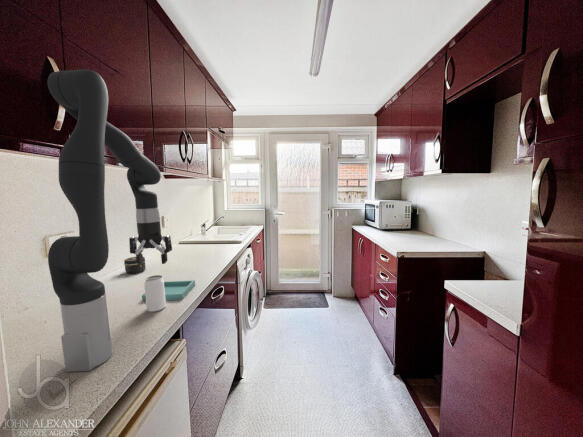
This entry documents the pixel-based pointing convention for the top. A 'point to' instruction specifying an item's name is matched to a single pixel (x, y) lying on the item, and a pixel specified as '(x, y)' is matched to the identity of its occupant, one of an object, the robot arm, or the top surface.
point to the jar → (134, 266)
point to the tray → (176, 289)
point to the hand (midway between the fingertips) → (152, 263)
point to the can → (155, 293)
